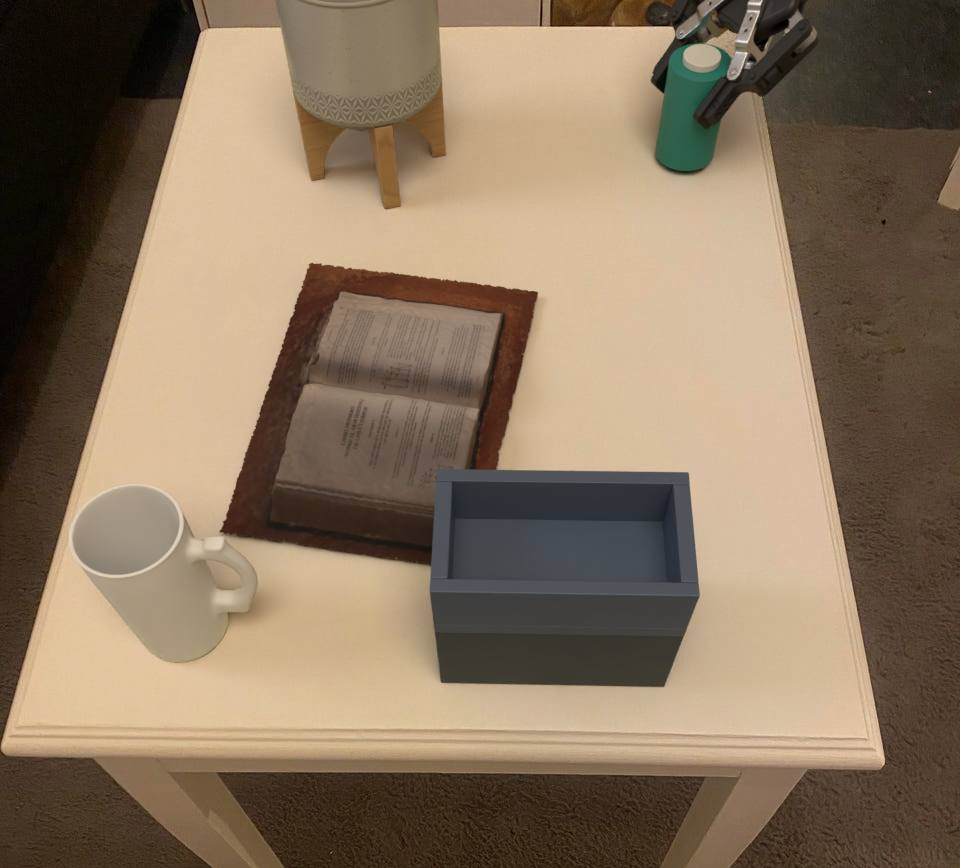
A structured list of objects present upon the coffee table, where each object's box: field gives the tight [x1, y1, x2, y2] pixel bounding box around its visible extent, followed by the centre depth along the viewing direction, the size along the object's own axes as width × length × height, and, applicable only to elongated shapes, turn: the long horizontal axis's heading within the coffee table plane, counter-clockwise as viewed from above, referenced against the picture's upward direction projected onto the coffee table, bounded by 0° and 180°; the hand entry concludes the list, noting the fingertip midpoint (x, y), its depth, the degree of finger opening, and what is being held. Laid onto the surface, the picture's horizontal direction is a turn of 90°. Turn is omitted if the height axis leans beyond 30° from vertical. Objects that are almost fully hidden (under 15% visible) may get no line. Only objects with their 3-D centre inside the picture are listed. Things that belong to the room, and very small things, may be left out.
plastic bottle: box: [654, 43, 733, 172], centre depth 84 cm, size 5×5×9 cm
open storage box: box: [429, 469, 701, 688], centre depth 60 cm, size 15×9×12 cm, turn 88°
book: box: [218, 262, 539, 566], centre depth 74 cm, size 20×28×4 cm
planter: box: [274, 0, 447, 210], centre depth 81 cm, size 13×13×18 cm
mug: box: [67, 482, 259, 663], centre depth 61 cm, size 10×7×12 cm, turn 87°
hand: (678, 105), depth 83 cm, fingers closed on plastic bottle, 5 cm apart
